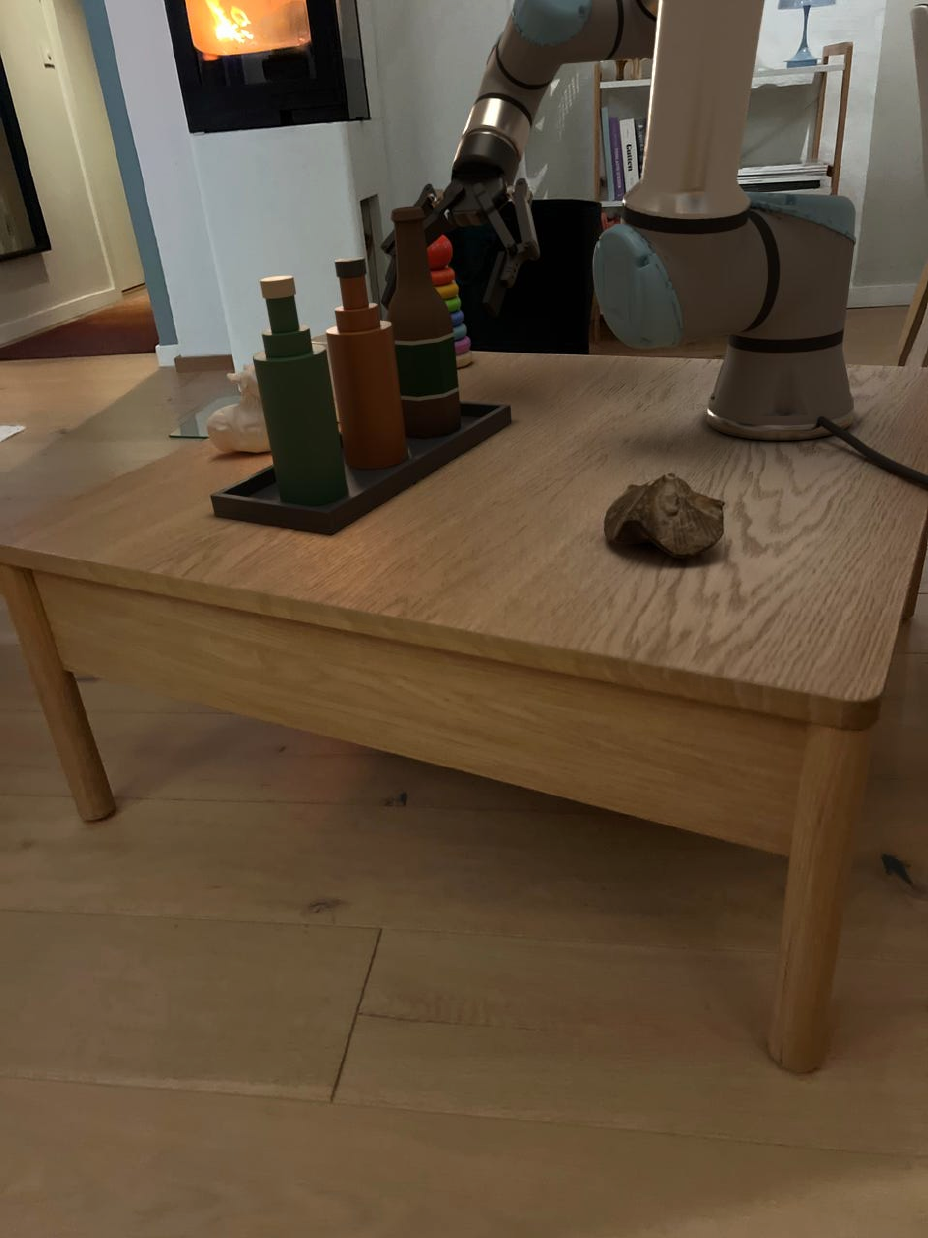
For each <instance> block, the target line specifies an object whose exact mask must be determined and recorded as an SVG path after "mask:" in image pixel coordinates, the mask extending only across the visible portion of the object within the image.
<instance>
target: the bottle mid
mask: <svg viewBox="0 0 928 1238" xmlns="http://www.w3.org/2000/svg"><path fill="white" fill-rule="evenodd" d="M334 268H335V274H336V277H337V278H338V280H339V288H340V294H341V295H340V296H341V301H342V305H341V306H337V307H335V308H334V317H335V322H336V325H334V326H331V327H329V328H327V329H326V330H325V333H326V337H327V343H328V350H329V356H330V363H331V369H332V376H333V382H334V389H335V395H336V402H337V408H338V415H339V421H340V422H339V427H340V428H339V429H340V431H341V434H342V441H343V447H344V454H345V460H346V464H347V465H348V466H349V467H351V468H354V469H361V470H373V469H382V468H387V467H391V466H395V465H397V464H400V463H402V462H404V461H405V460H406V459H407V458H408V451H407V443H406V435H405V426H404V418H403V410H402V401H401V393H400V385H399V376H398V368H397V359H396V351H395V343H394V334H393V326H392V323H390V322H387V321H386V320H381V318H380V317H381V316H380V310H379V305H378V303H375V302H369V301H370V300H369V295H368V294H369V293H368V286H367V277H366V275H367V274H368V272H367V264H366V258H365V257H364V256H352V257H351V256H350V257H344V258H338V259H336V260H334Z"/></svg>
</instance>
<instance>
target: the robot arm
mask: <svg viewBox="0 0 928 1238" xmlns="http://www.w3.org/2000/svg"><path fill="white" fill-rule="evenodd" d="M513 2H514V3H513V5H512V8H511V12H510V14H509V17H508V19H507V22H506V24H505V27H504V29H503V31H501V32H500V33H499V34H498V36H497V38H496V40H495V42H494V44H493V46H492V48H491V51H490V53H489V54H488V57H487V60H486V64H485V65H486V67H485V69H484V73H483V75H482V79H481V80H480V81H481V82H480V84H479V88H478V90H477V94H476V97H475V100H474V103H473V106H472V109H471V110H470V112H469V116H468V118H467V121H466V124H465V127H464V129H463V132H462V135H461V140H460V142H459V145H458V148H457V150H456V154H455V157H454V159H453V162H452V166H451V175H450V181H449V183H448V184H447V185H446V186H445V188H444V189H441V188H440V189H439V188H435V187H434V185H433V184H432V183H431V182H429V183H427V184H425V185H424V187H423V188H422V190H421V192H420V195H419V197H418V198H417V201H416V202H415V203H413V205H412V206H418V207H420V208H422V209H423V212H424V215H425V218H424V219H423V226H424V233H425V239H426V245H427V248H428V247H429V246H430V245H432V244H433V243H434V242H435V241H436V240H437V239H439V238H440V237H441V236H442V235H444V234H446V233H451V232H453V231H454V230H455V229H456V228H457V227H458V226H459V227H467V226H471V225H472V226H477V227H480V226H481V227H483V225H484V224H486V223H487V222H489V221H490V223H491V224H492V226H493V229H494V230H495V232H496V234H497V235H498V238H499V239H500V241H501V243H502V245H503V246H504V248H505V249H506V251H498V253H497V256H496V259H495V262H494V265H493V268H492V272H491V273H490V277H489V280H488V283H487V287H486V289H485V293H484V296H483V298H482V301H481V302H482V305H483V306H484V308H485V310H486V311H487V312H488V314H489V316H490V317H491V318H498V317H499V314H500V311H501V307H502V306H503V305H502V304H503V301H504V298H505V295H506V292H507V289H509V288H510V289H511V288H513V286H514V285H515V283H516V280H517V276H518V274H519V270H520V267H521V265H522V264H524V262H525V261H527V260H531V261H537V260H539V258H540V257H541V253H540V252H541V251H540V246H539V241H538V237H537V233H536V228H535V222H534V219H533V214H532V209H531V207H532V203H533V199H534V194H533V192H532V190H531V187H530V186H529V183H528V182H527V180H526V178H525V177H520V178H518V179H517V180H516V177H517V174H518V173H519V172H518V171H519V169H520V163H521V162H522V159H523V155H524V152H525V149H526V147H527V143H528V140H529V137H530V134H531V132H532V131H531V130H532V127H533V125H534V122H535V119H536V117H537V113H538V110H539V107H540V105H541V103H542V100H543V98H544V96H545V94H546V93H547V90H548V89H549V87H550V85H551V83H552V81H553V80H554V79H555V77H556V75H557V74H558V72H559V70H560V68H561V67H562V66H563V65H565V64H580V63H594V62H604V61H617V60H619V61H620V60H634V59H635V60H636V59H648V60H649V59H650V60H652V63H651V74H650V84H649V92H648V93H649V95H648V103H647V104H648V105H647V113H646V115H647V116H646V124H645V125H646V126H645V134H644V136H645V137H644V145H643V146H644V148H643V156H642V168H641V176H640V177H639V180H637V182H636V183H635V184H634V185H633V186H632V187H631V188H630V189H628V191H627V192H626V193H625V194H624V195H623V197H622V205H621V206H622V207H621V217H620V218H621V219H620V223H614V224H613V225H612V226H611V227H608V228H607V229H605V230H604V231H603V232H602V233H601V234H600V236H599V240H598V241H597V242H596V244H595V247H594V251H593V257H592V278H593V279H592V280H593V287H594V293H595V298H596V300H597V304H598V306H599V309H600V312H601V314H602V316H603V318H604V321H605V322H606V325H607V326H608V328H609V329H610V330H611V332H612V334H613V335H614V336H615V337H616V338H617V339H618V340H619V341H620V342H622V343H623V344H624V345H626V346H627V347H629V348H631V349H634V350H651V349H659V348H664V349H672V348H675V347H677V346H679V345H684V344H685V345H686V344H690V343H694V342H699V341H704V340H710V339H715V338H719V337H724V336H727V347H726V354H725V356H724V359H723V360H722V364H721V367H720V370H719V372H718V375H717V378H716V381H715V385H714V388H713V392H712V393H711V394H710V396H709V399H708V402H707V403H708V404H707V407H706V408H707V409H706V410H707V411H706V423H707V424H708V426H710V427H711V428H712V429H714V430H716V431H718V432H720V433H723V434H726V435H730V436H733V437H736V438H737V437H739V438H743V439H751V440H761V441H762V440H763V441H799V440H809V439H815V438H816V439H817V438H821V437H826V436H830V435H834V436H835V437H836V438H838V439H840V440H841V441H843V442H845V443H846V444H847V445H848V446H850V447H851V448H853V449H854V450H855V451H857V452H858V453H860V454H861V455H863V456H864V457H866V459H869V460H870V461H872V462H873V463H876V464H877V465H879V466H881V467H883V468H884V469H887V470H888V471H891V472H893V473H894V474H897V475H899V476H901V477H903V478H906V479H909V480H911V481H913V482H915V483H917V484H919V485H922V486H925V487H927V488H928V474H925V473H923V472H921V471H918V470H915V469H913V468H911V467H908V466H906V465H903V464H902V463H900V462H897V461H896V460H893V459H892V458H890V457H887V456H885V455H884V454H882V453H880V452H878V451H877V450H876V449H873V448H872V447H870V446H868V445H867V444H866V443H864V441H861V440H860V439H859V438H857V437H856V436H854V435H853V434H851V433H850V432H849V431H848V430H845V429H847V428H848V427H850V426H851V424H852V423H853V417H854V409H855V404H854V397H853V395H852V393H851V388H850V381H849V377H848V370H847V366H846V361H845V357H844V352H843V343H844V334H845V333H844V332H845V325H846V316H847V309H848V308H847V307H848V301H849V292H850V286H851V285H850V283H851V278H852V277H851V276H852V268H853V260H854V251H855V246H856V244H857V238H856V236H855V232H856V231H855V230H856V216H857V215H856V214H857V211H856V207H855V205H854V203H853V201H852V200H851V199H850V198H848V197H847V196H844V195H839V194H838V195H837V194H817V193H815V194H814V193H789V192H788V193H787V192H760V191H744V189H743V188H742V186H741V185H740V183H739V180H738V176H739V169H740V162H741V157H742V151H743V144H744V137H745V132H746V124H747V118H748V111H749V105H750V100H751V99H750V98H751V94H752V93H751V92H752V86H753V79H754V74H755V67H756V60H757V54H758V48H759V40H760V35H761V27H762V21H763V16H764V9H765V2H766V0H514V1H513ZM515 181H516V182H515ZM510 200H511V202H512V203H513V205H514V209H515V214H516V218H517V223H518V228H519V234H520V238H521V242H520V243H518V244H517V243H516V241H515V239H514V238H513V235H512V234H511V233H510V231H509V229H508V227H507V226H506V224H505V222H504V220H503V219H502V217H501V215H500V213H499V211H500V210H501V209H503V208H504V206H506V204H507V203H508V202H510ZM446 211H448V214H449V215H450V217H451V218H450V219H448V217H447V216H446ZM380 250H381V251H382V252H383V254H384V255H385V257H386V258H387V259H388V261H389V264H388V267H387V270H386V273H385V276H384V281H385V282H386V285H385V288H384V290H383V293H382V297H381V299H380V304H381V305H382V306H383V307H384V308H385V310H386V311H387V312H388V308H389V304H390V301H391V299H392V297H393V295H394V293H395V291H396V285H397V265H396V248H395V231H394V229H392V230H391V232H390V233H389V234H388V236H387V237H386V238H385V239H384V241H382V243H381V245H380ZM506 252H507V253H506Z"/></svg>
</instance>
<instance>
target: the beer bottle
mask: <svg viewBox="0 0 928 1238" xmlns="http://www.w3.org/2000/svg"><path fill="white" fill-rule="evenodd" d="M424 218H425V215H424V212H423V209H422V208H420V207H418V206H413V205H412V206H411V205H410V206H401V207H397V208H394V209H392V210H391V213H390V221H391V222H393V230H394V231H395V248H396V265H397V285H396V291H395V293H394V295H393V297H392V299H391V301H390V304H389V308H388V311H387V314H386V317H385V321H387V322H390V323H392V326H393V334H394V343H395V351H396V359H397V368H398V376H399V385H400V393H401V401H402V410H403V418H404V426H405V435H406V437H412V438H420V439H425V438H432V437H440V436H447V435H449V434H450V433H452V432H454V431H456V430H458V429H460V427H461V407H460V401H461V399H460V398H461V397H460V396H461V395H460V387H459V376H458V375H459V374H458V368H457V362H456V351H455V339H454V330H453V324H452V318H451V314H450V312H449V309H448V307H447V305H446V302H445V300H444V299H443V298H442V296H441V295H440V294H439V292H438V291H437V290H436V288H435V287H434V283H433V279H432V275H431V271H430V265H429V258H428V252H427V245H426V239H425V233H424V226H423V219H424Z"/></svg>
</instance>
